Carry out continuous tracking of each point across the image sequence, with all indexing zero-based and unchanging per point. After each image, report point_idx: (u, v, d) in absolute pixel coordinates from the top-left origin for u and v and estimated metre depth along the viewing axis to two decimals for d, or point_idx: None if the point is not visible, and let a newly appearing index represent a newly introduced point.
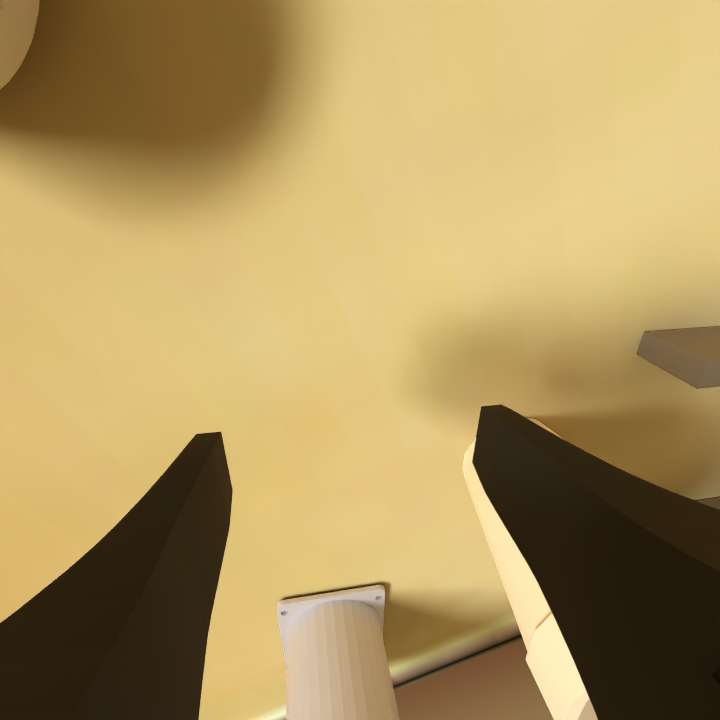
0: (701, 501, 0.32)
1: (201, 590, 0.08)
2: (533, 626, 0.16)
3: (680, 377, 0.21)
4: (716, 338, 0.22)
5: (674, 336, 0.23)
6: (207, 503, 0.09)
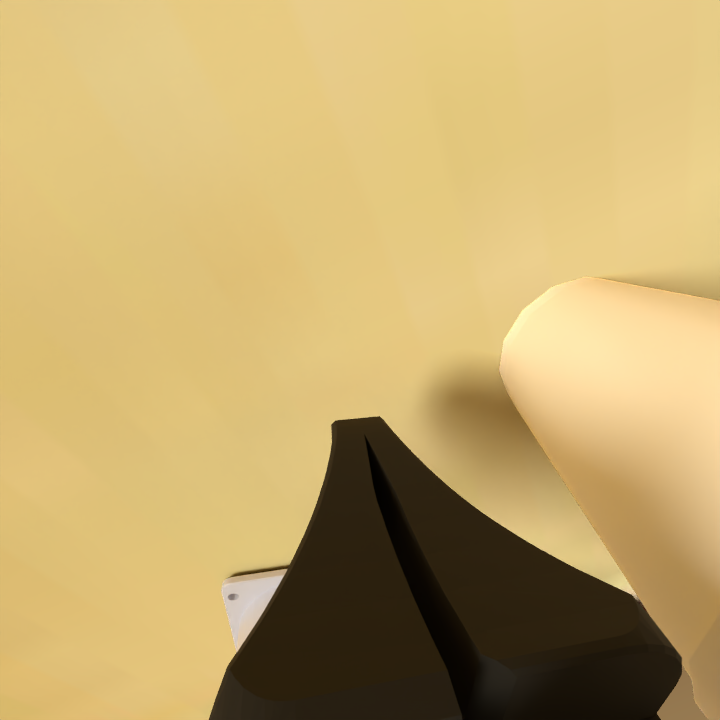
0: None
1: None
2: (716, 583, 0.07)
3: None
4: None
5: None
6: None
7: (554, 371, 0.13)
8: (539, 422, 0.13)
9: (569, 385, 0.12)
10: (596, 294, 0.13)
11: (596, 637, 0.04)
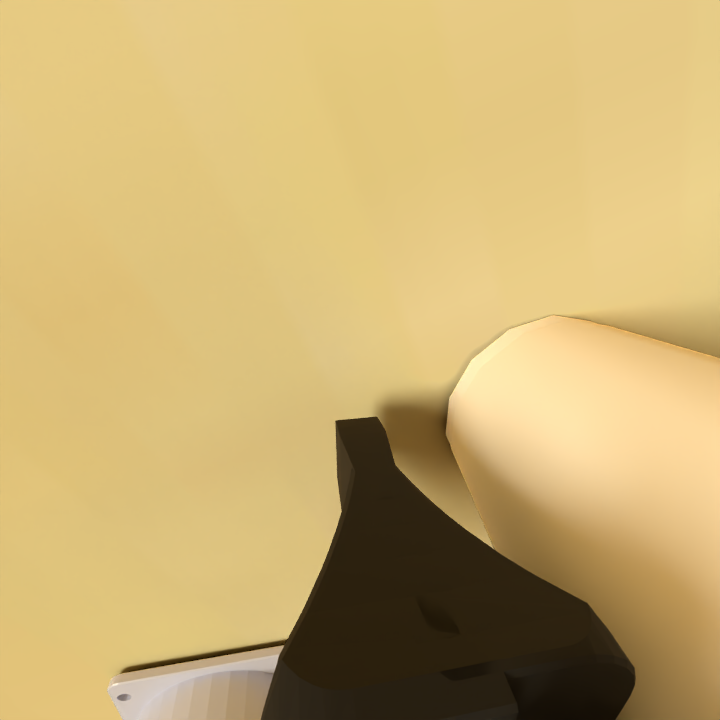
0: None
1: None
2: None
3: None
4: None
5: None
6: None
7: (507, 463, 0.09)
8: (489, 529, 0.10)
9: (525, 492, 0.08)
10: (564, 348, 0.10)
11: (545, 647, 0.04)
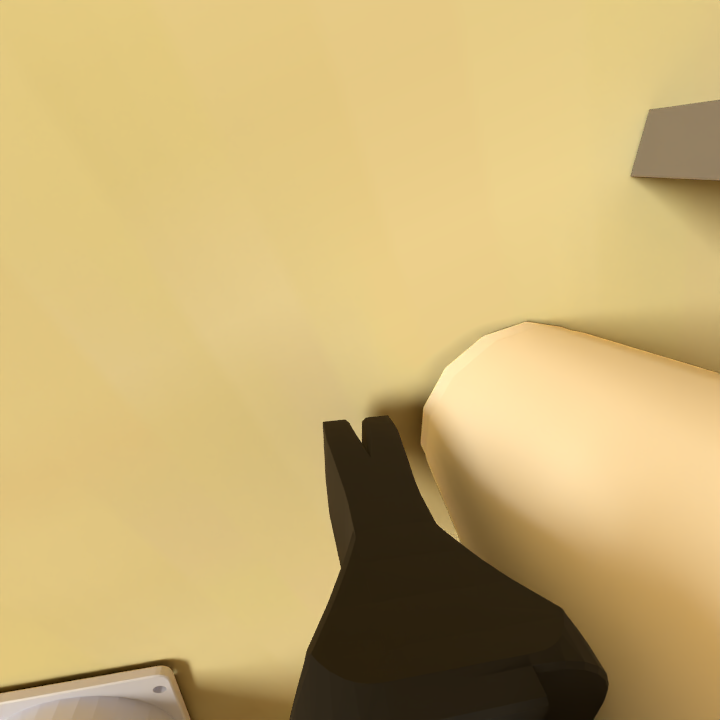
0: None
1: None
2: None
3: None
4: None
5: None
6: None
7: (481, 475, 0.09)
8: (465, 544, 0.09)
9: (500, 507, 0.08)
10: (537, 356, 0.10)
11: (514, 653, 0.04)
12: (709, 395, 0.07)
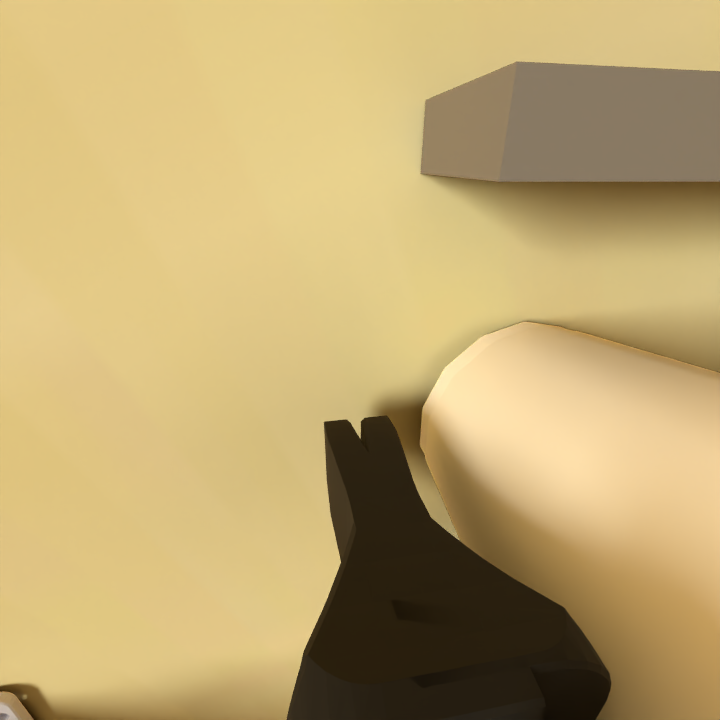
0: None
1: None
2: None
3: (472, 172, 0.07)
4: None
5: None
6: None
7: (481, 476, 0.09)
8: (466, 545, 0.09)
9: (501, 508, 0.08)
10: (536, 355, 0.10)
11: (516, 652, 0.04)
12: (710, 394, 0.07)
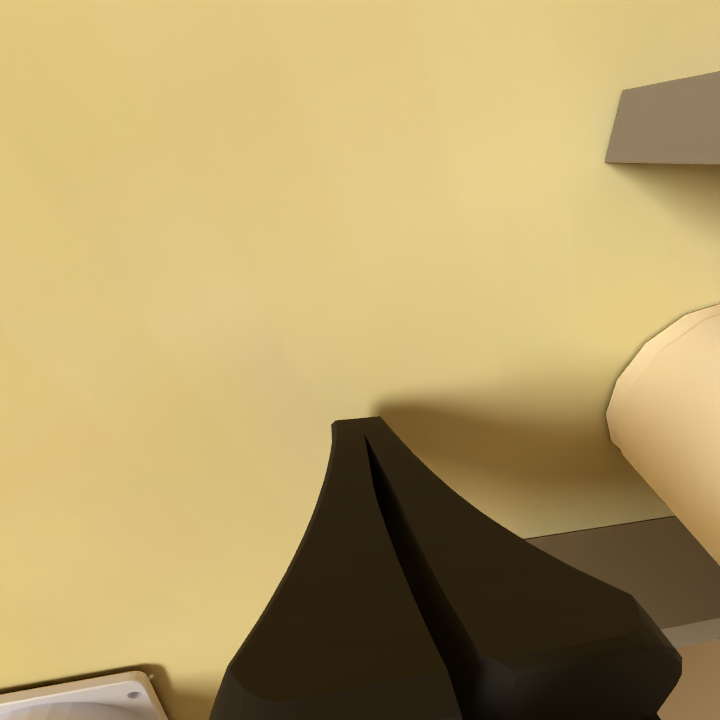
0: None
1: None
2: None
3: None
4: None
5: None
6: None
7: None
8: (696, 497, 0.10)
9: None
10: None
11: (595, 637, 0.04)
12: None
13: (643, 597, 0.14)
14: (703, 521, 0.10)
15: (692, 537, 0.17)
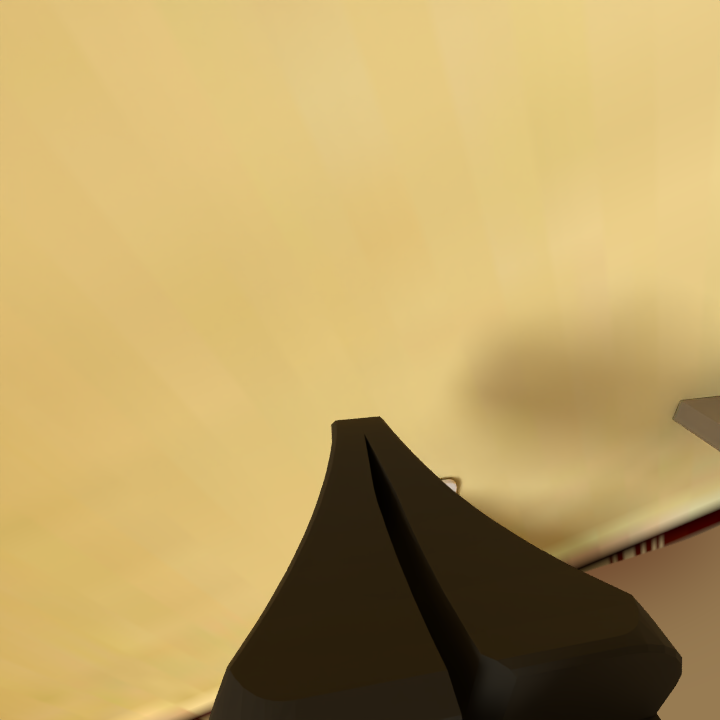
0: None
1: None
2: None
3: None
4: None
5: None
6: None
7: None
8: None
9: None
10: None
11: (595, 636, 0.04)
12: None
13: None
14: None
15: None
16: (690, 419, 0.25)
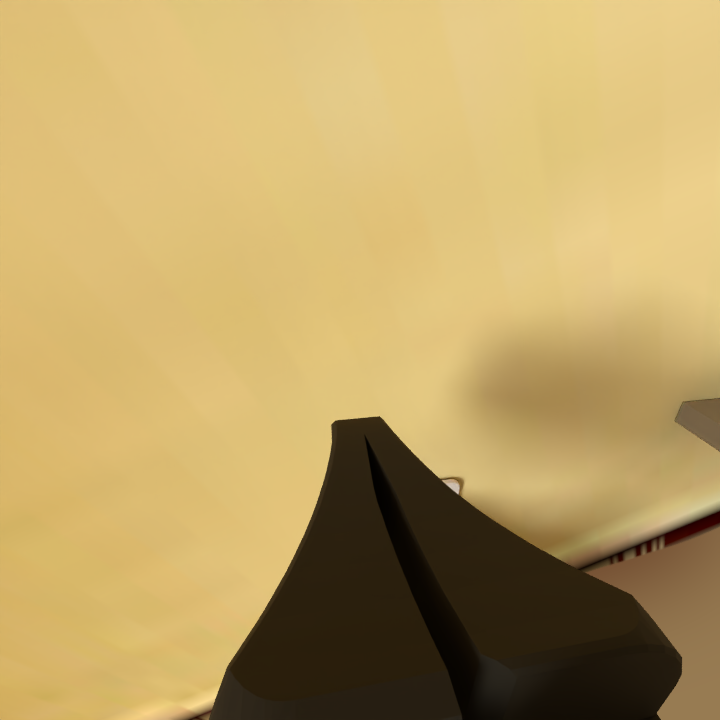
0: None
1: None
2: None
3: None
4: None
5: None
6: None
7: None
8: None
9: None
10: None
11: (596, 637, 0.04)
12: None
13: None
14: None
15: None
16: (692, 421, 0.25)
